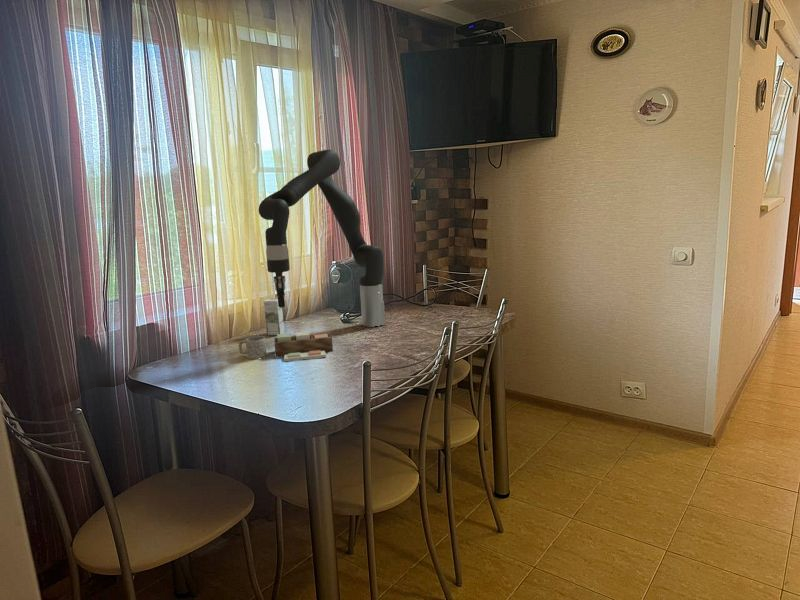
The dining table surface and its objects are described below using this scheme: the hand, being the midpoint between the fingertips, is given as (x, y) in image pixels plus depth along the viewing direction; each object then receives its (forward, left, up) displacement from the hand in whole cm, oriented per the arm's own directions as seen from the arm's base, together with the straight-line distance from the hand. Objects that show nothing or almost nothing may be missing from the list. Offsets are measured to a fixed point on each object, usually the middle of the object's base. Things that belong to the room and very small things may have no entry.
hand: (281, 306), depth 201 cm
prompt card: (-6, +8, -17) cm, 20 cm away
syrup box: (+4, -29, -17) cm, 34 cm away
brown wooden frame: (-6, 0, -17) cm, 18 cm away
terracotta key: (-13, 0, -14) cm, 19 cm away
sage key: (0, 0, -13) cm, 13 cm away
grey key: (-6, 0, -13) cm, 14 cm away
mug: (+11, 0, -17) cm, 21 cm away
